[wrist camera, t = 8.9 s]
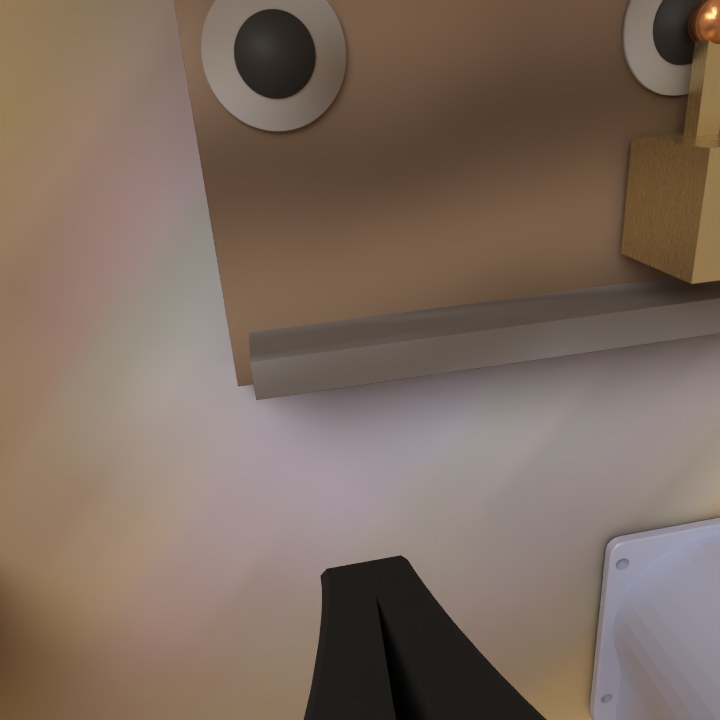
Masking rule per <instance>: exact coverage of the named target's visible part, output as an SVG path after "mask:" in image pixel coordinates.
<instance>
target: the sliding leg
mask: <svg viewBox="0 0 720 720" xmlns="http://www.w3.org/2000/svg"><path fill="white" fill-rule="evenodd" d="M687 33H688V36H689V38H690V40H691V41H692V42H693V43H694V44H695V46H694V54H693V62H692V70H691V79H690V87H689V95H688V103H687V111H686V119H685V127H684V133H674V134H664V135H654V136H644V137H634V138H632V140H631V151H630V162H629V173H628V183H627V194H626V205H625V216H624V227H623V237H622V248H621V253H622V254H624V255H626V256H629V257H631V258H633V259H635V260H638V261H640V262H642V263H645V264H647V265H649V266H651V267H654V268H656V269H658V270H661V271H663V272H665V273H667V274H670V275H672V276H674V277H677V278H679V279H681V280H683V281H686V282H688V283H690V284H695V283H703V282H710V281H718V280H720V0H702V1H700V2H699V3H698V4H697V5H696V6H695V7H694V8H693V9H692V11H691V12H690V14H689V17H688V20H687Z"/></svg>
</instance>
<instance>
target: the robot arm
mask: <svg viewBox="0 0 720 720" xmlns="http://www.w3.org/2000/svg"><path fill="white" fill-rule="evenodd" d="M619 560H620V561H619ZM618 561H619V562H618ZM321 584H322V615H321V626H320V636H319V644H318V650H317V656H316V662H315V668H314V674H313V680H312V686H311V691H310V695H309V700H308V704H307V708H306V713H305V717H304V720H546V719H545V718H544V717H543V716H542V715H541V714H540V713H539V712H538V711H537V710H536V709H535V708H534V707H533V706H532V705H531V704H530V703H528V702H527V701H526V700H525V699H524V698H523V697H522V696H521V695H520V694H519V693H518V692H517V690H516V689H515V688H514V687H513V686H512V685H511V684H510V683H509V682H508V681H507V680H506V679H505V678H504V677H503V676H502V675H501V674H500V673H499V672H498V671H497V670H496V669H495V668H494V667H493V666H492V665H491V664H490V663H489V661H488V660H487V659H486V658H485V657H484V656H483V655H482V654H481V653H480V651H479V650H478V649H477V648H476V647H475V646H474V645H473V644H472V642H471V641H470V640H469V639H468V638H467V637H466V636H465V634H464V633H463V632H462V631H461V630H460V629H459V628H458V626H457V625H456V624H455V623H454V622H453V620H452V619H451V618H450V617H449V616H448V614H447V613H446V612H445V611H444V609H443V608H442V607H441V606H440V604H439V603H438V602H437V600H436V599H435V598H434V597H433V595H432V594H431V593H430V591H429V590H428V589H427V587H426V586H425V585H424V583H423V582H422V580H421V579H420V578H419V576H418V575H417V573H416V572H415V570H414V569H413V567H412V566H411V564H410V563H409V561H408V560H407V559H405V558H404V557H403V556H395V557H390V558H384V559H379V560H373V561H368V562H362V563H356V564H351V565H345V566H340V567H334V568H329V569H326V570H325V571H324V573H323V574H322V575H321ZM589 711H590V715H591V717H592V718H593V720H720V518H715V519H710V520H704V521H699V522H694V523H688V524H683V525H678V526H672V527H667V528H661V529H656V530H651V531H645V532H640V533H634V534H629V535H624V536H619V537H616V538H614V539H612V540H611V541H610V542H609V543H608V545H607V547H606V553H605V563H604V572H603V582H602V592H601V602H600V612H599V622H598V631H597V641H596V651H595V661H594V671H593V680H592V690H591V700H590V710H589Z"/></svg>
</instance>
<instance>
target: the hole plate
mask: <svg viewBox="0 0 720 720" xmlns="http://www.w3.org/2000/svg"><path fill="white" fill-rule="evenodd" d="M700 1H702V0H174V4H175V10H176V16H177V22H178V28H179V34H180V40H181V46H182V52H183V58H184V64H185V70H186V76H187V82H188V88H189V94H190V100H191V106H192V112H193V118H194V124H195V130H196V136H197V142H198V148H199V154H200V160H201V166H202V172H203V178H204V184H205V190H206V196H207V202H208V208H209V214H210V220H211V226H212V232H213V238H214V244H215V250H216V256H217V262H218V268H219V274H220V280H221V286H222V292H223V298H224V304H225V310H226V316H227V322H228V328H229V334H230V340H231V346H232V352H233V358H234V364H235V370H236V376H237V382H238V386H245V385H252V384H254V389H255V395H256V400H261V399H268V398H274V397H281V396H288V395H295V394H302V393H309V392H316V391H323V390H330V389H337V388H344V387H351V386H358V385H365V384H372V383H378V382H385V381H392V380H399V379H406V378H413V377H420V376H427V375H434V374H441V373H448V372H455V371H462V370H469V369H476V368H482V367H489V366H496V365H503V364H510V363H517V362H524V361H531V360H538V359H545V358H552V357H559V356H566V355H573V354H580V353H586V352H593V351H600V350H607V349H614V348H621V347H628V346H635V345H642V344H649V343H656V342H663V341H670V340H677V339H684V338H690V337H697V336H704V335H711V334H718V333H720V280H718V281H710V282H703V283H695V284H690V283H688V282H686V281H683V280H681V279H679V278H677V277H674V276H672V275H670V274H667V273H665V272H663V271H661V270H658V269H656V268H654V267H651V266H649V265H647V264H645V263H642V262H640V261H638V260H635V259H633V258H631V257H629V256H626V255H624V254H622V253H621V248H622V237H623V227H624V216H625V205H626V194H627V183H628V173H629V162H630V151H631V140H632V138H634V137H644V136H654V135H664V134H674V133H684V127H685V119H686V111H687V103H688V95H689V87H690V79H691V70H692V62H693V54H694V46H695V44H694V43H693V42H692V41H691V40H690V38H689V36H688V33H687V20H688V17H689V14H690V12H691V11H692V9H693V8H694V7H695V6H696V5H697V4H698V3H699V2H700Z"/></svg>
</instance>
